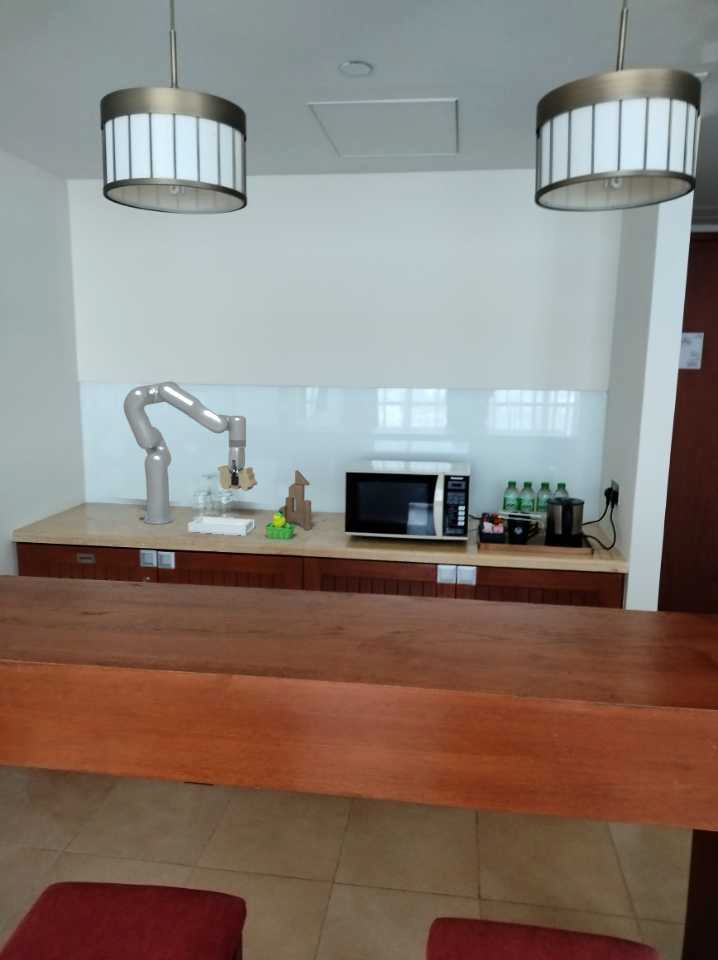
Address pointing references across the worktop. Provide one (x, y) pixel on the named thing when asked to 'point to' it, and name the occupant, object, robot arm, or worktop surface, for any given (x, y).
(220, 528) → the white tray
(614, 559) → the worktop surface
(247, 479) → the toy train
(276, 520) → the fruit basket
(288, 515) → the wooden toy
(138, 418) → the robot arm
